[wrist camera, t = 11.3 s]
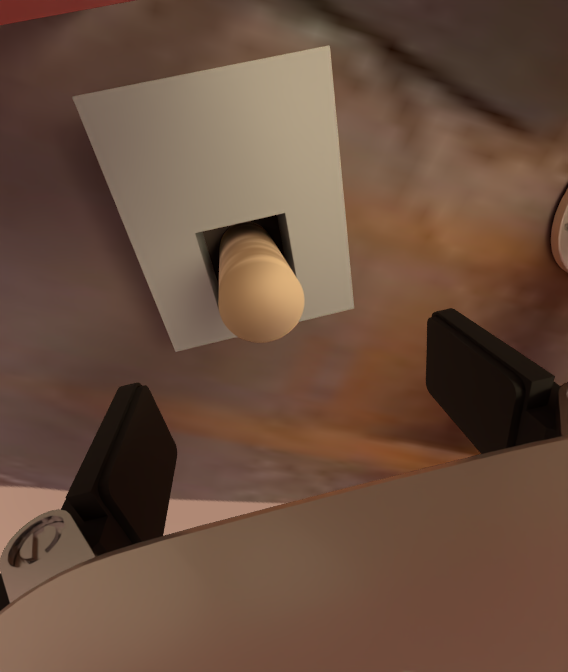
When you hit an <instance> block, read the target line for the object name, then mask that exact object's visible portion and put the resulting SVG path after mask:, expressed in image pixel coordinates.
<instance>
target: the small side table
mask: <svg viewBox="0 0 568 672" xmlns="http://www.w3.org/2000/svg"><path fill="white" fill-rule="evenodd" d="M129 1H135V0H0V25H5V24H10V23H15V22H21V21H26V20H32V19H37V18H43V17H48V16H53V15H59V14H64V13H70V12H75V11H80V10H86V9H91V8H97V7H102V6H108V5H113V4H118V3H124V2H129Z"/></svg>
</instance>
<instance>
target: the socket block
mask: <svg viewBox="0 0 568 672" xmlns="http://www.w3.org/2000/svg"><path fill="white" fill-rule="evenodd" d="M72 98H73V100H74V103H75V105H76V108H77V110H78V113H79V115H80V118H81V120H82V123H83V125H84V127H85V130H86V132H87V135H88V137H89V140H90V142H91V145H92V147H93V150H94V152H95V155H96V157H97V160H98V162H99V164H100V167H101V169H102V172H103V174H104V177H105V179H106V182H107V184H108V187H109V189H110V192H111V194H112V197H113V199H114V201H115V204H116V206H117V209H118V211H119V214H120V216H121V219H122V221H123V224H124V226H125V229H126V231H127V234H128V236H129V238H130V241H131V243H132V246H133V248H134V251H135V253H136V256H137V258H138V261H139V263H140V266H141V268H142V270H143V273H144V275H145V278H146V280H147V283H148V285H149V288H150V290H151V293H152V295H153V298H154V300H155V303H156V305H157V307H158V310H159V312H160V315H161V317H162V320H163V322H164V325H165V327H166V330H167V332H168V335H169V337H170V340H171V342H172V344H173V347H174V349H175V352H177V351H182V350H186V349H190V348H194V347H198V346H202V345H206V344H210V343H214V342H218V341H223V340H227V339H231V338H235V337H237V336H236V335H234V334H233V333H232V332H231V331H230V330H229V329H228V328H227V327H226V326H225V324H224V323H223V321H222V319H221V316H220V313H219V306H218V299H219V285H218V282H217V279H216V275H215V272H214V269H213V265H212V262H211V258H210V255H209V252H208V248H207V245H206V242H205V238H204V235H203V231H207V230H212V229H216V228H220V227H225V226H229V225H234V224H238V223H243V222H247V221H252V220H256V219H260V218H265V217H269V216H274V215H277V219H278V224H279V230H280V235H281V240H282V246H283V251H284V256H285V260H286V262H287V263H288V265H289V267H290V268H291V270H292V271H293V273H294V274H295V276H296V278H297V279H298V281H299V282H300V284H301V286H302V289H303V293H304V310H303V313H302V316H301V318H300V320H299V322H300V321H304V320H308V319H313V318H317V317H321V316H325V315H329V314H333V313H337V312H341V311H345V310H349V309H354V302H353V291H352V280H351V269H350V259H349V248H348V237H347V226H346V216H345V205H344V194H343V183H342V173H341V162H340V151H339V140H338V130H337V119H336V108H335V97H334V87H333V76H332V65H331V54H330V45H329V46H324V47H319V48H314V49H309V50H304V51H299V52H294V53H289V54H284V55H279V56H274V57H269V58H264V59H259V60H254V61H249V62H244V63H239V64H234V65H229V66H224V67H219V68H214V69H209V70H203V71H198V72H193V73H188V74H183V75H178V76H173V77H168V78H163V79H158V80H153V81H148V82H143V83H138V84H133V85H128V86H123V87H118V88H113V89H108V90H103V91H98V92H93V93H88V94H83V95H78V96H73V97H72Z"/></svg>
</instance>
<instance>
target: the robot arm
mask: <svg viewBox="0 0 568 672" xmlns="http://www.w3.org/2000/svg"><path fill="white" fill-rule="evenodd" d="M551 247H552V253H553V256H554V258H555V261H556V262H557V264H558V265H559V266H560V268H561V269H563V270H564V271H566V272H567V273H568V188H567V190H566V192H565V194H564V196H563V198H562V199H561V201H560V204H559V206H558V209H557V211H556V214H555V217H554V221H553V225H552V230H551ZM554 378H555V376H554V375H552V374H551V373H549V372H548V371H546V370H545V369H543V368H542V367H540V366H539V365H537V364H536V363H534V362H533V361H531V360H530V359H528V358H527V357H525V356H524V355H522V354H521V353H519V352H518V351H516V350H515V349H513V348H512V347H510V346H509V345H507V344H506V343H504V342H503V341H501V340H500V339H498V338H497V337H495V336H494V335H492V334H491V333H489V332H488V331H486V330H485V329H483V328H482V327H480V326H479V325H477V324H476V323H474V322H473V321H471V320H470V319H468V318H467V317H465V316H464V315H462V314H461V313H459V312H458V311H456V310H455V309H452V308H450V309H446V310H442V311H437V312H434V313H433V314H432V317H431V318H429V319H428V322H427V360H426V386H427V389H428V391H429V393H430V394H431V395H432V397H433V398H434V399H435V400H436V401H437V402H438V404H439V405H440V406H441V407H442V408H443V409H444V411H445V412H446V413H447V414H448V415H449V416H450V418H451V419H452V420H453V421H454V422H455V423H456V425H457V426H458V427H459V428H460V429H461V430H462V432H463V433H464V434H465V435H466V436H467V437H468V439H469V440H470V441H471V442H472V443H473V444H474V446H475V447H476V448H477V449H478V450H479V451H480V453H481V454H480V455H476V456H472V457H468V458H464V459H460V460H456V461H452V462H448V463H444V464H440V465H436V466H432V467H428V468H424V469H420V470H416V471H412V472H407V473H403V474H399V475H395V476H391V477H388V478H384V479H380V480H376V481H372V482H368V483H364V484H360V485H356V486H352V487H348V488H344V489H340V490H336V491H332V492H329V493H325V494H321V495H317V496H313V497H309V498H305V499H301V500H297V501H293V502H290V503H286V504H282V505H278V506H274V507H270V508H266V509H263V510H259V511H255V512H251V513H248V514H243V515H240V516H236V517H232V518H228V519H225V520H220V521H217V522H213V523H209V524H205V525H202V526H197V527H194V528H190V529H187V530H183V531H179V532H176V533H172V534H169V535H165V536H163V533H164V527H165V521H166V516H167V510H168V504H169V499H170V493H171V487H172V482H173V476H174V470H175V465H176V459H177V448H176V444H175V442H174V440H173V438H172V436H171V434H170V432H169V430H168V427H167V425H166V423H165V421H164V419H163V417H162V415H161V413H160V411H159V409H158V407H157V405H156V402H155V400H154V398H153V396H152V394H151V392H150V390H149V388H148V387H147V386H146V385H145V386H142V385H141V384H140V383H134V384H130V385H125V386H121V387H119V389H118V390H117V392H116V394H115V397H114V399H113V401H112V403H111V405H110V407H109V409H108V411H107V413H106V415H105V417H104V419H103V421H102V423H101V425H100V428H99V430H98V432H97V434H96V436H95V438H94V440H93V442H92V444H91V446H90V448H89V450H88V452H87V454H86V456H85V459H84V461H83V463H82V465H81V467H80V469H79V471H78V473H77V475H76V477H75V479H74V481H73V483H72V485H71V487H70V490H69V492H68V494H67V496H66V500H65V502H64V504H63V506H62V508H61V510H53V511H49V512H47V513H44V514H41V515H39V516H38V517H36V518H34V519H33V520H31V521H30V522H28V523H27V524H26V525H25V526H23V527H22V528H21V529H20V530H19V531H18V532H17V533H16V534H15V535H14V536H13V537H12V538H11V540H10V541H9V542H8V544H7V546H6V547H5V548H4V550H3V552H2V555H1V558H0V571H1V574H0V672H568V382H567V383H564V384H563V385H562V386H559V385H558V384H556V383H555V382H554Z"/></svg>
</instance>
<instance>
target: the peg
mask: <svg viewBox="0 0 568 672" xmlns="http://www.w3.org/2000/svg"><path fill="white" fill-rule="evenodd" d="M218 306H219V313H220V316H221V319H222V321H223V323H224V324H225V326H226V327H227V328H228V329H229V330H230V331H231V332H232V333H233V334H234V335H236V336H237V337H239V338H241V339H243V340H246V341H249V342H255V343H264V342H271V341H274V340H277V339H279V338H281V337H283V336H285V335H286V334H288V333H289V332H290V331H291V330H292V329H293V328H294V327H295V326H296V325H297V323H298V322H299V320H300V318H301V316H302V313H303V310H304V293H303V289H302V286H301V284H300V282H299V281H298V279H297V278H296V276H295V274H294V273H293V271H292V270H291V268H290V267H289V265H288V263H287V262H286V260H285V259H284V257H283V255H282V254H281V252H280V251H279V249H278V248H277V246H276V244H275V243H274V241H273V240H272V238H271V237H270V235H269V234H268V232H267V231H266V230H265V229H264V228H263V227H261V226H260V225H258V224H255V223H252V222H243V223H238V224H235V225H233V226H231V227H230V228H229V229H228V230H227V231H226V232H225V233H224V235H223V237H222V239H221V242H220V256H219V299H218Z"/></svg>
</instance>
